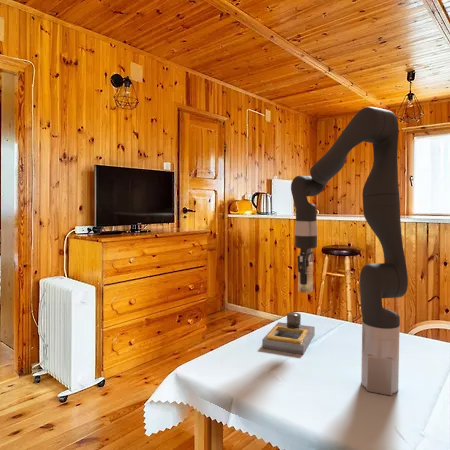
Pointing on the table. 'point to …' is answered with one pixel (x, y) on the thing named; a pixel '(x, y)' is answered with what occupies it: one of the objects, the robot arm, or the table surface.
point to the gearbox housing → (289, 335)
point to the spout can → (309, 285)
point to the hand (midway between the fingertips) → (305, 282)
